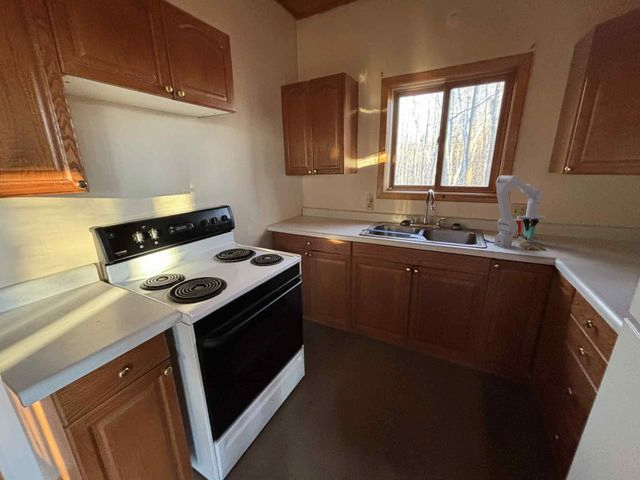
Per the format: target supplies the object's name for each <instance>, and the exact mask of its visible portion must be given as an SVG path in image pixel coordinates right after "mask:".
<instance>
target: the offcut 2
mask: <svg viewBox="0 0 640 480" xmlns="http://www.w3.org/2000/svg"><path fill="white" fill-rule="evenodd" d="M530 246H531V245H530V244H528V243H523V248H524V249H525V251H531V250H530ZM523 248H522V249H523ZM524 249H523V250H524Z"/></svg>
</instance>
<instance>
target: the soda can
mask: <svg viewBox="0 0 640 480" xmlns="http://www.w3.org/2000/svg"><path fill="white" fill-rule="evenodd" d="M514 219H515V220H516V223H517V224H518V230H517V231H516V232H515V233H514V234H513V238H518V236H520V237H522V234H523V233H522V231H523V228H524V227H523V226H524V222H523V219H520V220H518V219H517V218H514Z"/></svg>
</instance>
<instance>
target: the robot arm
mask: <svg viewBox="0 0 640 480" xmlns="http://www.w3.org/2000/svg"><path fill="white" fill-rule="evenodd" d="M532 185H533V184H531V183H525V182H524V181H522V179H521V177H519V176H518V175H516V174H515V175H504V174H503V175H502V174H501V175H499V176H497V179H496V180H495V187H496V198H497V204H498V210H499V215H500V218H499V219H498V220H497V225H496V228H497V230H498V232H499V233H497V234H496V235H495V236H494V243H493V246H496V247H500V248H510V247H512V246H513V241H514V237H513V234H514V233H515V232H516V231H517V230H518V224H517V223H516V220H515V219H518V220H520V219H522V221H523V226H524V227H525V230H526V231H528V229H529V225H531V226H533V227H535V228H536V225H538V223H539V222H540V220H544V221H545V220H546V216H545V215H538V213H539V208H540V203H541V202H542V199H543V198H544V191H542V190H540V189H537V187H534V186H532ZM515 188H517V189H520V192H521V193H522V194H524V195H526V198H527V205H526V206H527V207H526V212H525V215H517V217H516V218H514V217H513V216H512V209H511V204H510V198H509V193H510V192H512V191H513V190H514V189H515Z"/></svg>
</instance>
